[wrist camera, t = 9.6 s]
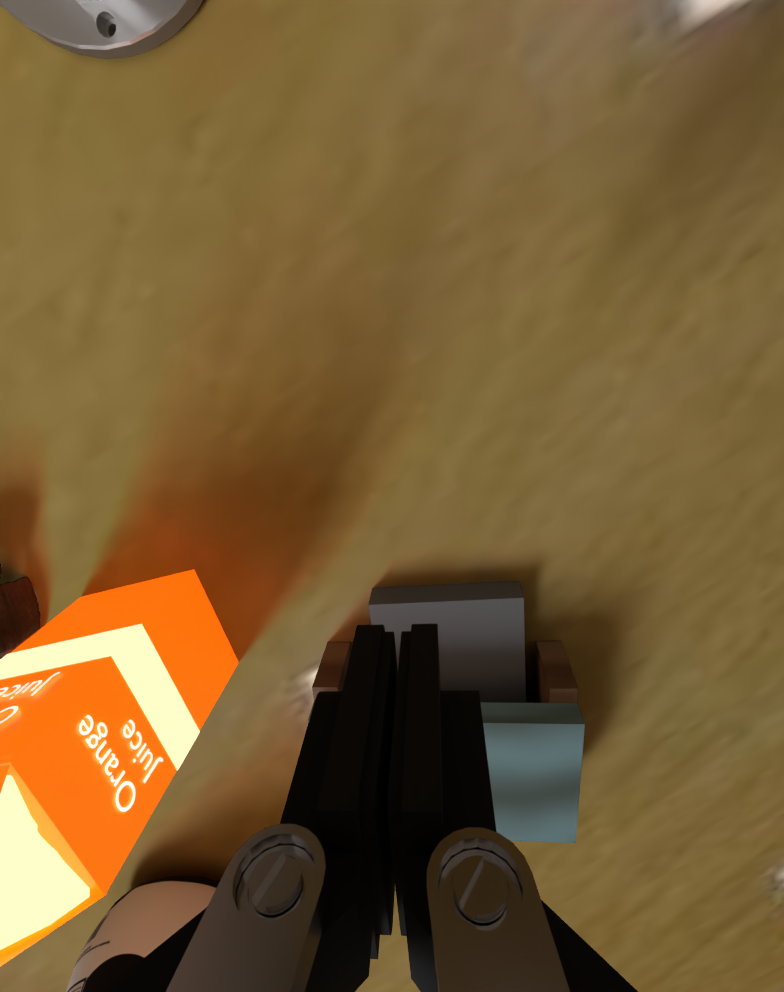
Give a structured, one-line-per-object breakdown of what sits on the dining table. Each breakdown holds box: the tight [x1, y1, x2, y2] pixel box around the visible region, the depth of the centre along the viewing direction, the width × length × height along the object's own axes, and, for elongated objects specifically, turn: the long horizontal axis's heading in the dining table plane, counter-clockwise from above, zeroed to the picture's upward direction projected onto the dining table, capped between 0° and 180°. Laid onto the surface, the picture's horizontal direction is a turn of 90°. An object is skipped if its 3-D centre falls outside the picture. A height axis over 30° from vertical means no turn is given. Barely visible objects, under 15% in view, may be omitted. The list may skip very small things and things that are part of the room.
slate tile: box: [369, 581, 526, 703], centre depth 32 cm, size 14×9×2 cm, turn 6°
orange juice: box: [0, 569, 239, 966], centre depth 24 cm, size 8×9×20 cm
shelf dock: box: [308, 641, 585, 843], centre depth 31 cm, size 12×15×6 cm
